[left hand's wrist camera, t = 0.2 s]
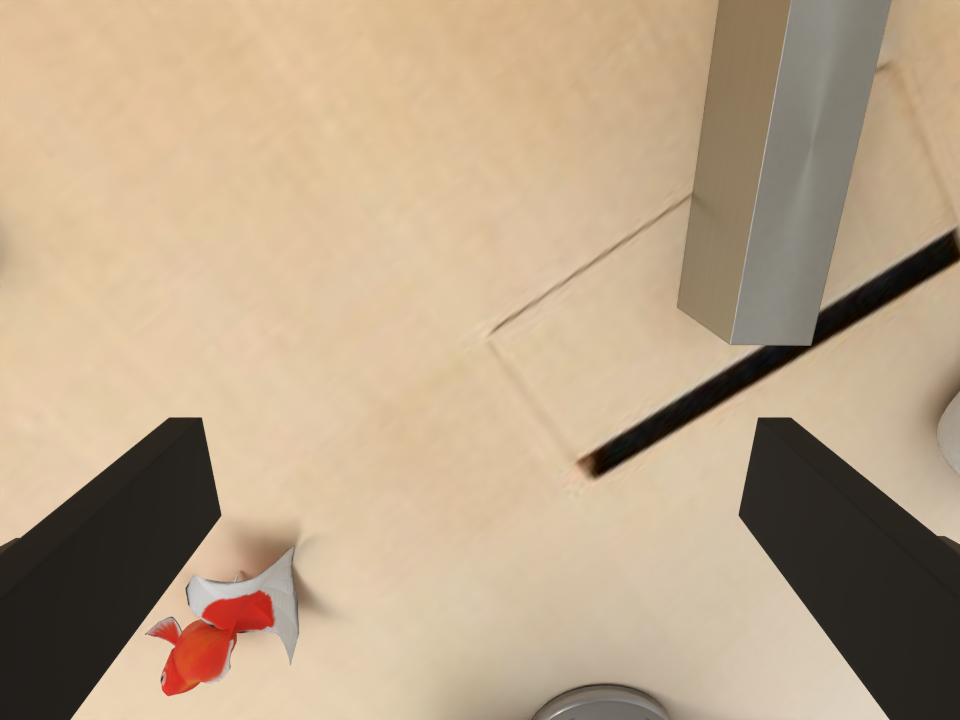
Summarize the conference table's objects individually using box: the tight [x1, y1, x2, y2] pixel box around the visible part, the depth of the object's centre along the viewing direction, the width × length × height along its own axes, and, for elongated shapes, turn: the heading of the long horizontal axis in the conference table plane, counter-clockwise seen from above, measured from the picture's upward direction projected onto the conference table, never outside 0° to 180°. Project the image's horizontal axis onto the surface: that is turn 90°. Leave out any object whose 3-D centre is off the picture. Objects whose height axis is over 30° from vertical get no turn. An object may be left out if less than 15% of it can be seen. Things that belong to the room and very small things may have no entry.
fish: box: [145, 546, 299, 696], centre depth 45 cm, size 11×16×10 cm
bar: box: [677, 0, 891, 345], centre depth 32 cm, size 22×5×9 cm, turn 0°
